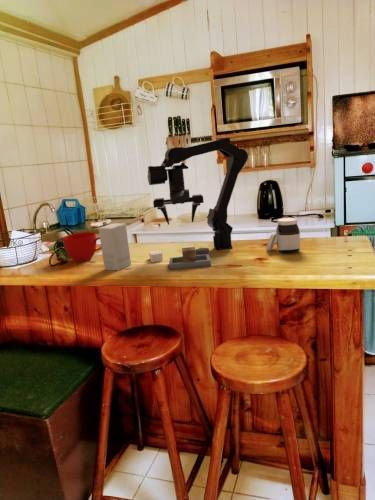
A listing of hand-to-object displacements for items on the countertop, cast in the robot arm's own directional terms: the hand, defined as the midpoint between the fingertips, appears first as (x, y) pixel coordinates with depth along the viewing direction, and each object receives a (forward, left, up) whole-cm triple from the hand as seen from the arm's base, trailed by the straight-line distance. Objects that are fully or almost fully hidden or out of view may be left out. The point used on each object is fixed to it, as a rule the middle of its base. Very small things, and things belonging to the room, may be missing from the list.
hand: (180, 223), depth 154 cm
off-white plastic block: (+10, +5, -12) cm, 17 cm away
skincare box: (+24, +11, -12) cm, 29 cm away
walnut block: (-2, +17, -11) cm, 21 cm away
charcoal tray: (-2, +17, -12) cm, 21 cm away
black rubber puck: (-7, +8, -12) cm, 16 cm away
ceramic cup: (+39, -6, -12) cm, 41 cm away
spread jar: (-36, +11, -12) cm, 40 cm away
